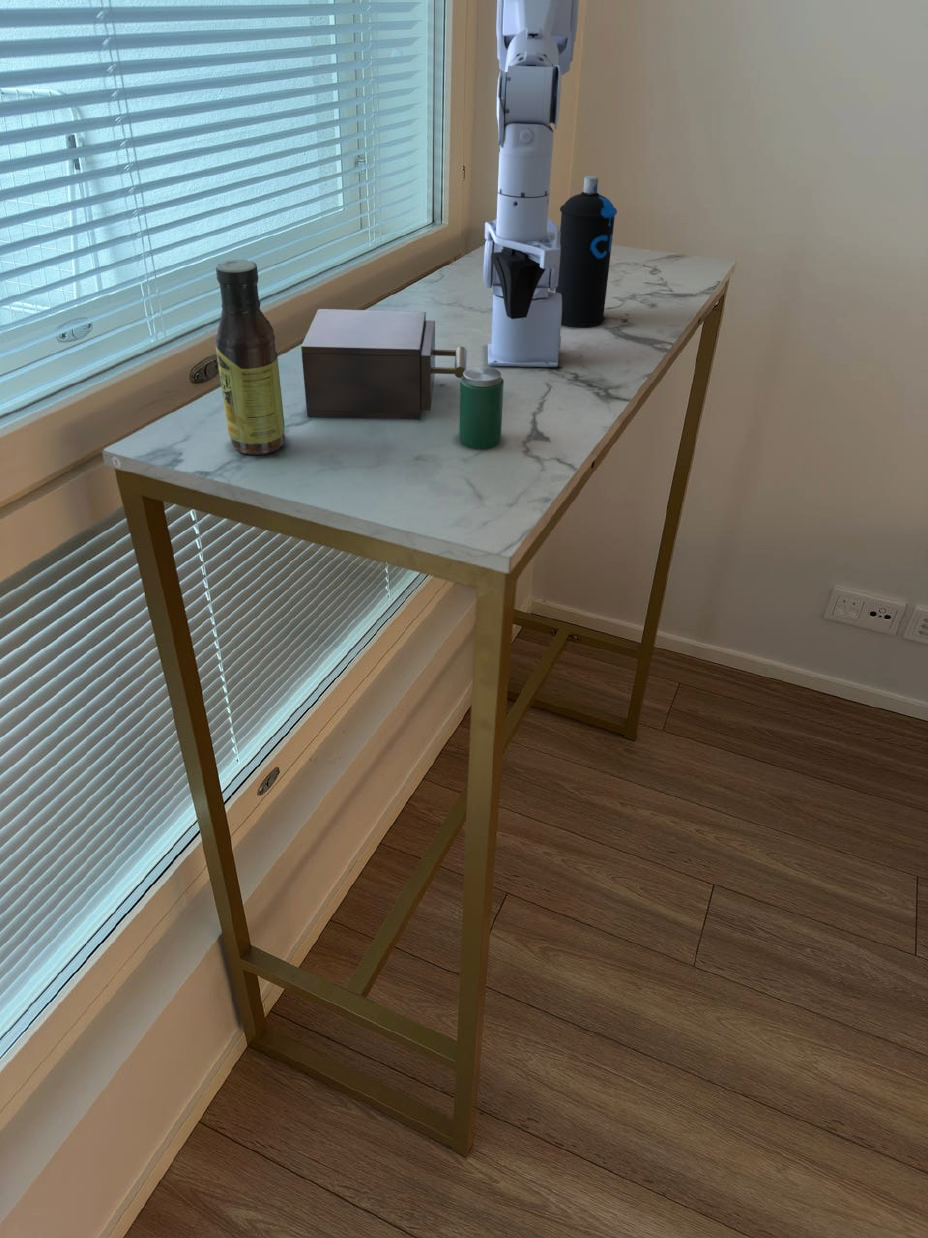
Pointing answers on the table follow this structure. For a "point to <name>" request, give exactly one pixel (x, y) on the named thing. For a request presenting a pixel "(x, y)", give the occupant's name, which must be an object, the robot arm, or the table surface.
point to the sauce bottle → (248, 363)
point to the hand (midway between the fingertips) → (516, 316)
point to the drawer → (429, 367)
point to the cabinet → (363, 364)
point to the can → (481, 408)
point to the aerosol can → (585, 256)
